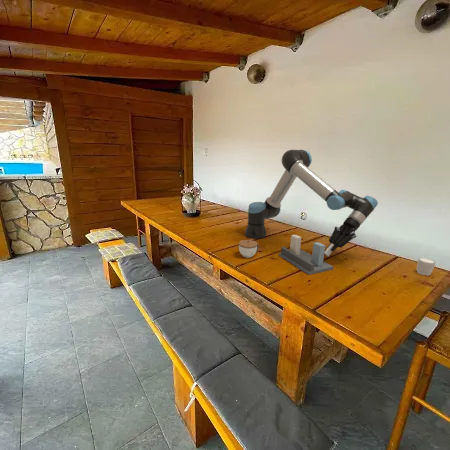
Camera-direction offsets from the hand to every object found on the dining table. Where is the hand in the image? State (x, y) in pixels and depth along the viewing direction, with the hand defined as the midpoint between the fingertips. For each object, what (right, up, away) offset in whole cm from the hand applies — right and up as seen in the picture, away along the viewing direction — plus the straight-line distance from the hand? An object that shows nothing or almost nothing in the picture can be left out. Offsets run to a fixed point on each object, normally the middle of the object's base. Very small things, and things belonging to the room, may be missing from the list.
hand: (325, 254), depth 128 cm
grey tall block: (-5, -5, -1) cm, 7 cm away
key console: (-10, -5, +5) cm, 12 cm away
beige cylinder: (+47, -9, -5) cm, 48 cm away
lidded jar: (-40, -2, +13) cm, 42 cm away
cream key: (-14, -1, +11) cm, 17 cm away
